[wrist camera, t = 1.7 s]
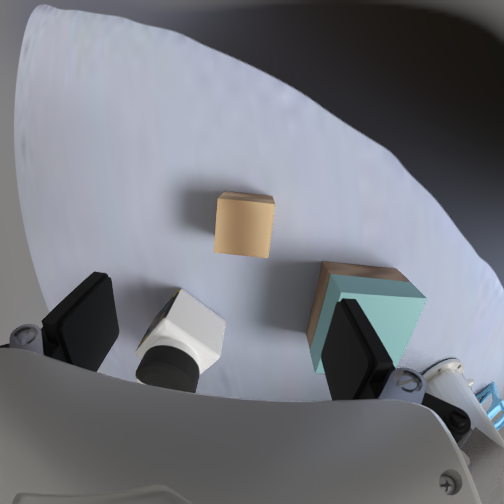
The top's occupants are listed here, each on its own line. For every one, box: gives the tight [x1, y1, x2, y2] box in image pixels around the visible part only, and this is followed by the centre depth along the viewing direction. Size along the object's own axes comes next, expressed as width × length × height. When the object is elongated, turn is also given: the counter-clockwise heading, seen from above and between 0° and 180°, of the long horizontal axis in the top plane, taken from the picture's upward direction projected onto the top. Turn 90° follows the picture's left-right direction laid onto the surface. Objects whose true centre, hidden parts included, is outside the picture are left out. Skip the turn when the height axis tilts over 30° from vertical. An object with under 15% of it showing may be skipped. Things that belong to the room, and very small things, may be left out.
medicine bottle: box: [135, 288, 226, 393], centre depth 28 cm, size 7×7×12 cm
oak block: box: [214, 191, 275, 258], centre depth 27 cm, size 5×5×5 cm
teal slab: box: [310, 274, 427, 374], centre depth 27 cm, size 10×10×4 cm
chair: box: [475, 382, 504, 430], centre depth 36 cm, size 8×8×12 cm
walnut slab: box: [306, 261, 410, 348], centre depth 31 cm, size 10×10×4 cm
